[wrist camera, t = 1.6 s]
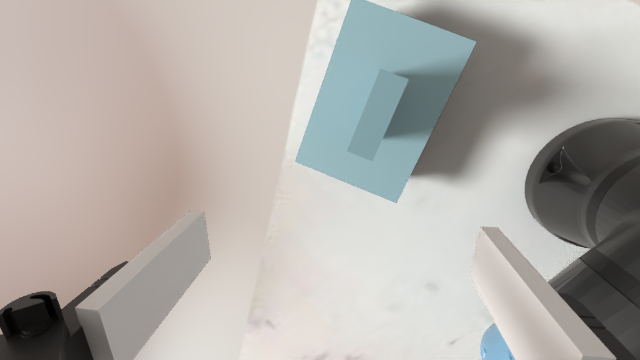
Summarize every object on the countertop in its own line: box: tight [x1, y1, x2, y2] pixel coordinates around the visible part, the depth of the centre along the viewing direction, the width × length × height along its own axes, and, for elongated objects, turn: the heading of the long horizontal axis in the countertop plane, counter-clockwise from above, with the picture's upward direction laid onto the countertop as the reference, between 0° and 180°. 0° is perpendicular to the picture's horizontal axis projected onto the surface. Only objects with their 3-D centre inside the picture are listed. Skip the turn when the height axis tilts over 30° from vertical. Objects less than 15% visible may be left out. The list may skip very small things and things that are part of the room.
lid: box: [295, 0, 477, 203], centre depth 26 cm, size 17×12×11 cm
